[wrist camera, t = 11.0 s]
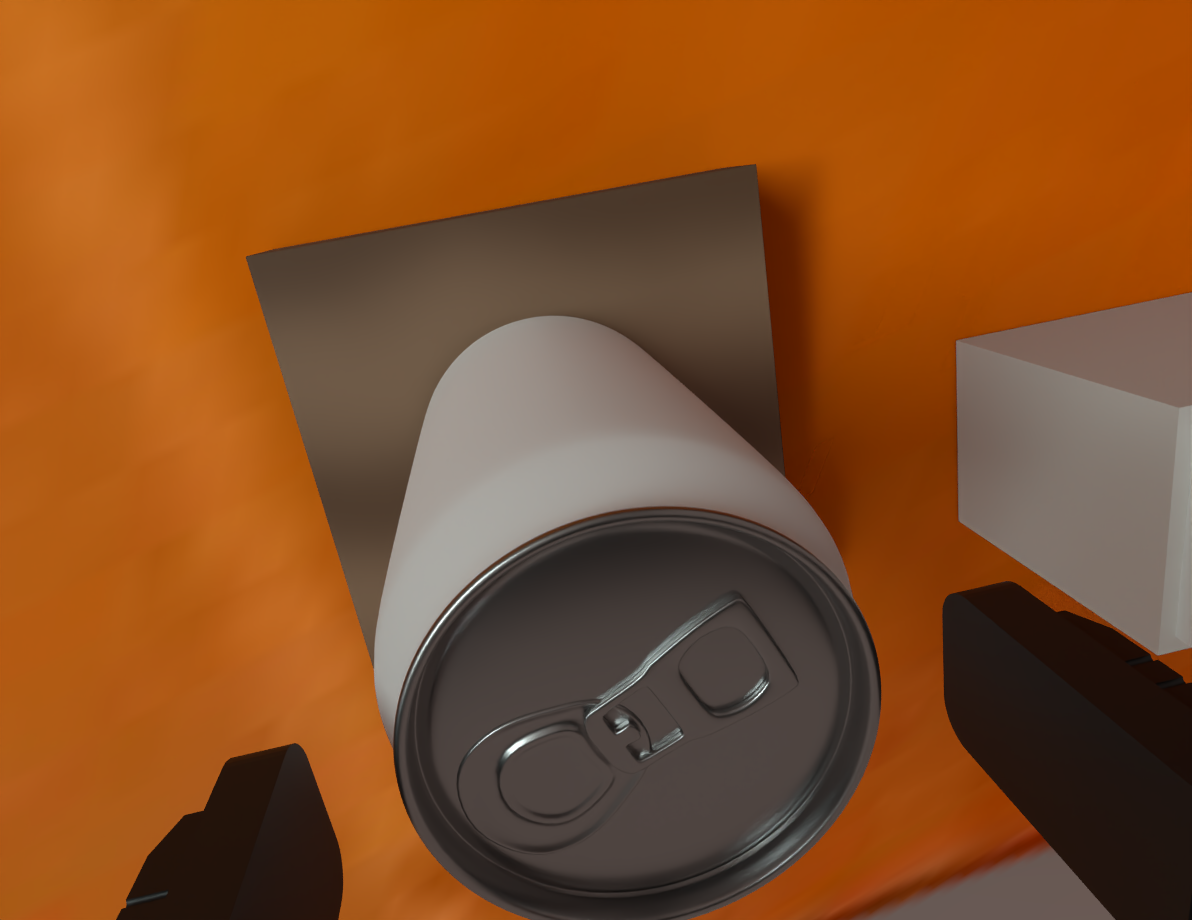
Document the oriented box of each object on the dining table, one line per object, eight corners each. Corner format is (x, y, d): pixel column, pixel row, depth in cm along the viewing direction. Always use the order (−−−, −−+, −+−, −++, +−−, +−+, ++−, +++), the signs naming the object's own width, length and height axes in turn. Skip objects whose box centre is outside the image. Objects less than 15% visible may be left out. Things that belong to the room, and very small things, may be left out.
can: (368, 411, 19) (216, 706, 8) (586, 257, 19) (749, 342, 8) (522, 599, 21) (572, 1039, 10) (720, 464, 21) (1001, 768, 10)
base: (272, 249, 20) (245, 256, 18) (724, 167, 21) (756, 164, 19) (391, 647, 24) (382, 696, 22) (766, 563, 25) (796, 601, 23)
